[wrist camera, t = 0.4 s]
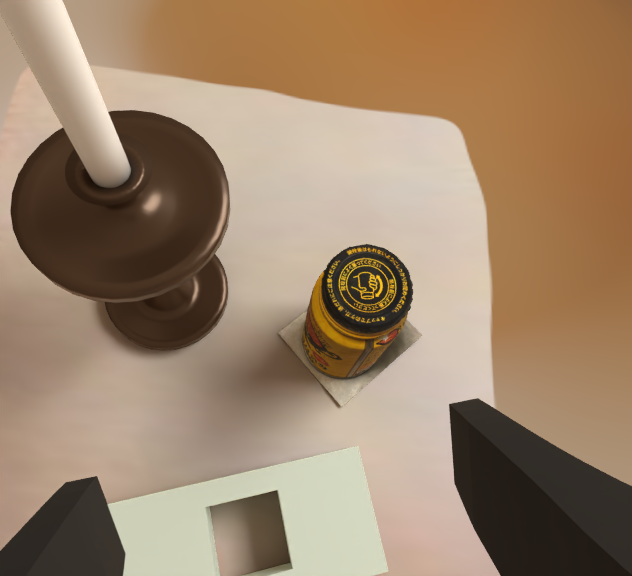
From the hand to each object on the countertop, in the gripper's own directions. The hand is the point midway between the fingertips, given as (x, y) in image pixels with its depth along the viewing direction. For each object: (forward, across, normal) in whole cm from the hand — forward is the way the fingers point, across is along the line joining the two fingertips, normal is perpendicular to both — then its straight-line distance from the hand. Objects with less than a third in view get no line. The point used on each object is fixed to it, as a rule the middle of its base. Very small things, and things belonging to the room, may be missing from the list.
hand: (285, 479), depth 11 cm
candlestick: (+31, +8, +6) cm, 32 cm away
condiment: (+28, -5, +11) cm, 31 cm away
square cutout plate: (+19, +4, +20) cm, 28 cm away
